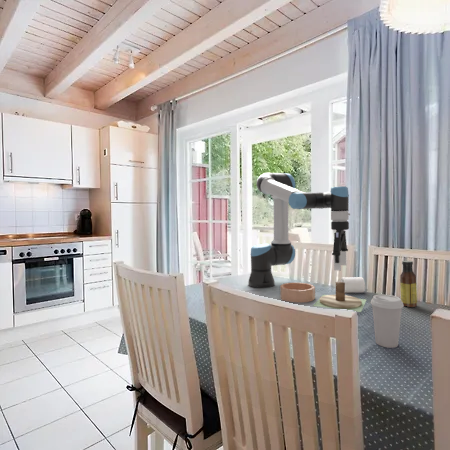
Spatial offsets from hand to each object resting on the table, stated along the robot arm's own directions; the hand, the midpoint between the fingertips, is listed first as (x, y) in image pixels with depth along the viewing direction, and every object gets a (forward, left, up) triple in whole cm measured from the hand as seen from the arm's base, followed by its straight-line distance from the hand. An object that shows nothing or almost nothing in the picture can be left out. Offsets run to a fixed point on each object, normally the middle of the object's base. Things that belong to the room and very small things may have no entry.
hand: (340, 267), depth 144 cm
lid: (0, 0, -16) cm, 16 cm away
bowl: (0, -20, -17) cm, 26 cm away
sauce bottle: (-10, +27, -17) cm, 33 cm away
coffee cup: (+37, +21, -17) cm, 46 cm away
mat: (0, 0, -17) cm, 17 cm away
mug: (-24, +1, -17) cm, 30 cm away
